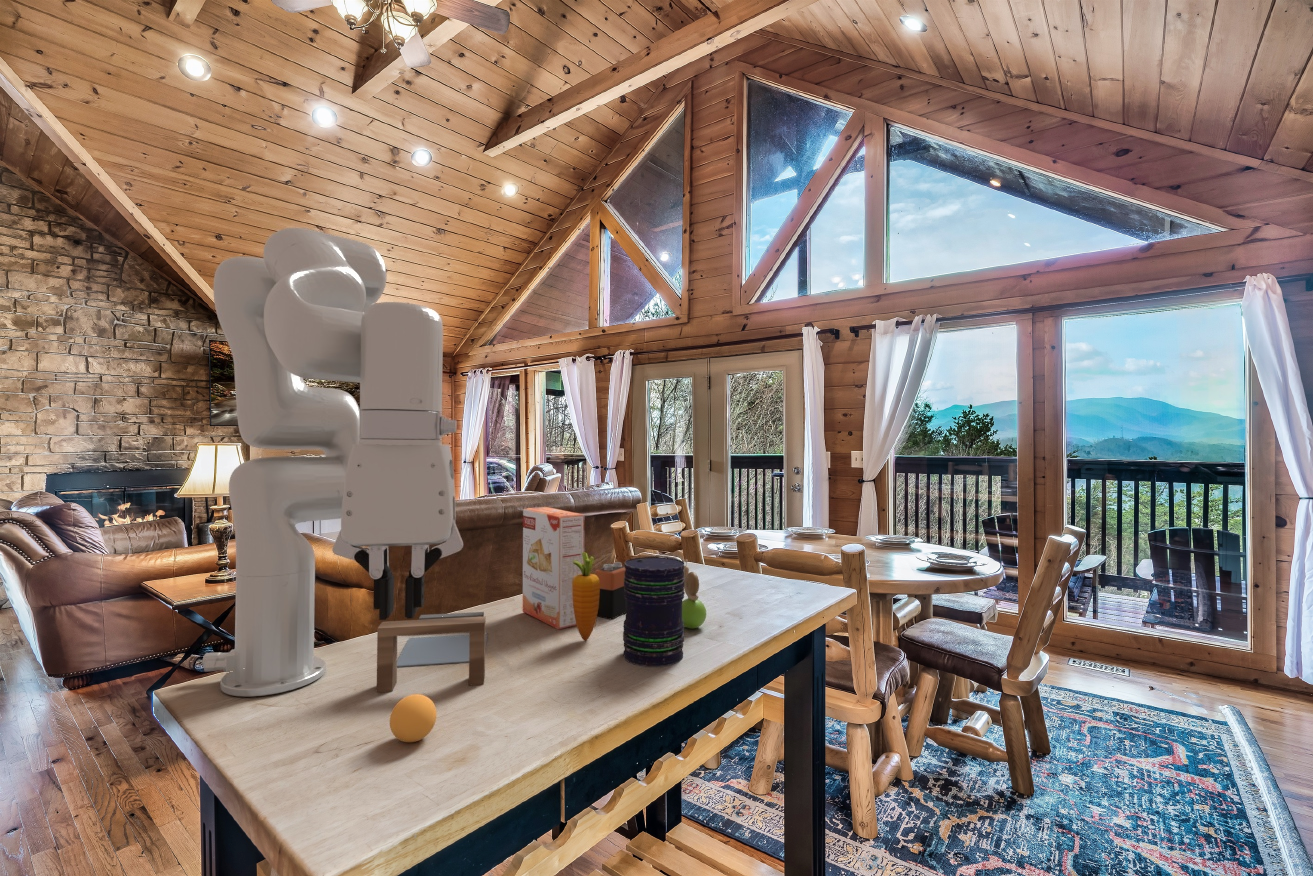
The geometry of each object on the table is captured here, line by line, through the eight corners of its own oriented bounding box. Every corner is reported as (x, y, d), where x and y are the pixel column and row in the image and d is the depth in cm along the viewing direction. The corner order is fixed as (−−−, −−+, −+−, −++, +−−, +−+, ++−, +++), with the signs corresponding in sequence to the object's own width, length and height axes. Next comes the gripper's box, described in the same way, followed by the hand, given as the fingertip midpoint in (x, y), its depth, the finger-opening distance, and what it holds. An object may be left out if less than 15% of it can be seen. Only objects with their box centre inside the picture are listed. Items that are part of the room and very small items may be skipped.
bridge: (483, 684, 84) (484, 622, 84) (376, 692, 81) (377, 628, 81) (484, 676, 87) (485, 616, 87) (381, 683, 84) (382, 621, 84)
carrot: (594, 646, 100) (595, 557, 100) (566, 644, 101) (567, 555, 101) (603, 637, 105) (604, 551, 105) (576, 635, 106) (577, 550, 106)
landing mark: (393, 667, 90) (394, 666, 90) (409, 639, 103) (409, 638, 103) (483, 661, 93) (483, 660, 93) (487, 634, 106) (487, 633, 106)
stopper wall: (418, 632, 106) (419, 618, 106) (420, 628, 108) (420, 615, 108) (483, 628, 109) (483, 615, 109) (483, 625, 111) (483, 611, 111)
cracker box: (520, 613, 119) (521, 508, 119) (546, 607, 123) (548, 506, 123) (556, 630, 108) (558, 515, 108) (584, 624, 112) (586, 513, 112)
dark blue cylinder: (695, 653, 98) (696, 561, 98) (662, 672, 90) (663, 572, 90) (645, 641, 103) (646, 554, 104) (610, 657, 95) (611, 563, 95)
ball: (385, 753, 66) (385, 707, 66) (394, 731, 71) (394, 689, 71) (433, 748, 67) (433, 703, 67) (438, 727, 72) (439, 685, 72)
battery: (593, 616, 117) (594, 565, 117) (612, 608, 123) (613, 559, 123) (612, 620, 115) (612, 568, 115) (630, 611, 121) (631, 562, 121)
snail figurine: (696, 620, 115) (697, 558, 116) (711, 630, 110) (712, 565, 110) (670, 623, 114) (671, 560, 114) (684, 633, 108) (684, 567, 108)
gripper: (485, 432, 65) (483, 601, 65) (326, 429, 61) (323, 609, 61) (481, 431, 58) (479, 622, 58) (300, 428, 54) (297, 632, 54)
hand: (399, 614), depth 60 cm, fingers closed
